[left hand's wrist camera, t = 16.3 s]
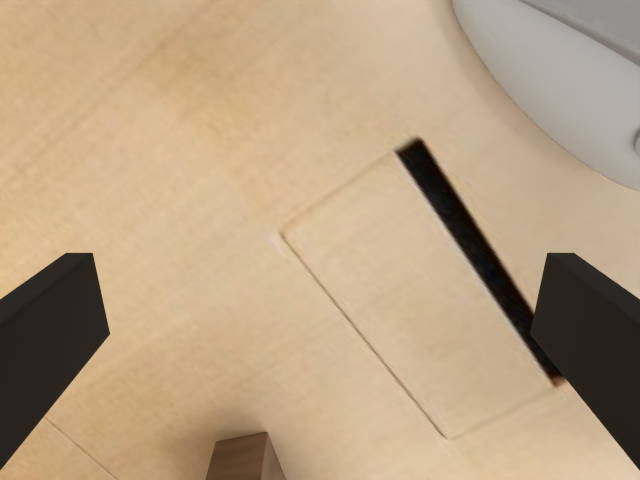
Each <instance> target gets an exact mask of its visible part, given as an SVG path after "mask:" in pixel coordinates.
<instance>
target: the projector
mask: <svg viewBox="0 0 640 480" xmlns="http://www.w3.org/2000/svg"><path fill="white" fill-rule="evenodd" d="M452 4H453V9H454V12H455V14H456V17H457V19H458V21H459V23H460V25H461V27H462V29H463V31H464V33H465V34H466V36H467V38H468V40H469V41H470V43H471V45H472V46H473V48H474V49H475V51H476V53H477V54H478V56H479V57H480V59H481V60H482V62H483V63H484V64H485V66H486V67H487V69H488V70H489V72H490V73H491V74H492V76H493V77H494V78H495V80H496V81H497V82H498V84H499V85H500V86H501V87H502V89H503V90H504V91H505V92H506V93H507V95H508V96H509V97H510V98H511V99H512V100H513V102H514V103H515V104H516V105H517V106H518V107H519V108H520V109H521V110H522V111H523V112H524V113H525V114H526V115H527V116H528V117H529V118H530V119H531V120H532V121H533V122H534V123H535V124H536V125H537V126H538V127H539V128H540V129H542V130H543V131H544V132H545V133H546V134H547V135H548V136H549V137H551V138H552V139H553V140H554V141H555V142H557V143H558V144H559V145H560V146H561V147H563V148H564V149H565V150H567V151H568V152H569V153H571V154H572V155H573V156H575V157H576V158H577V159H579V160H580V161H582V162H583V163H584V164H586V165H587V166H589V167H590V168H592V169H593V170H595V171H597V172H598V173H600V174H601V175H603V176H605V177H607V178H608V179H610V180H612V181H614V182H616V183H618V184H620V185H623V186H625V187H627V188H630V189H633V190H636V191H640V0H452Z"/></svg>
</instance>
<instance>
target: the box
mask: <svg viewBox="0 0 640 480" xmlns="http://www.w3.org/2000/svg"><path fill="white" fill-rule="evenodd" d="M206 480H286V479H285V477H284V474H283V472H282V469H281V466H280V464H279V461H278V459H277V456H276V453H275V451H274V448H273V446H272V443H271V440H270V438H269V435H268V433H267V432H266V433H261V434H256V435H251V436H245V437H240V438H235V439H230V440H225V441H220V442H216V444H215V448H214V451H213V455H212V458H211V462H210V466H209V469H208V473H207V476H206Z"/></svg>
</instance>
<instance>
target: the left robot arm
mask: <svg viewBox="0 0 640 480" xmlns="http://www.w3.org/2000/svg"><path fill="white" fill-rule="evenodd" d="M109 335H110V332H109V327H108V323H107V318H106V313H105V309H104V304H103V299H102V295H101V290H100V285H99V281H98V276H97V271H96V267H95V262H94V257H93V253H65V254H64V255H62V256H61V257H60V258H58V259H57V260H55V261H54V262H53V263H51V264H50V265H48V266H47V267H45V268H44V269H43V270H41V271H40V272H38V273H37V274H36V275H34V276H33V277H31V278H30V279H29V280H27V281H26V282H24V283H23V284H21V285H20V286H19V287H17V288H16V289H14V290H13V291H12V292H10V293H9V294H7V295H6V296H5V297H3V298H2V299H0V470H1V469H2V468H3V466H4V465H5V464H6V463H7V461H8V460H9V459H10V458H11V456H12V455H13V454H14V453H15V451H16V450H17V449H18V448H19V446H20V445H21V444H22V443H23V441H24V440H25V439H26V438H27V437H28V435H29V434H30V433H31V432H32V430H33V429H34V428H35V427H36V425H37V424H38V423H39V422H40V420H41V419H42V418H43V417H44V415H45V414H46V413H47V412H48V410H49V409H50V408H51V407H52V405H53V404H54V403H55V402H56V400H57V399H58V398H59V397H60V395H61V394H62V393H63V392H64V391H65V389H66V388H67V387H68V386H69V384H70V383H71V382H72V381H73V379H74V378H75V377H76V376H77V374H78V373H79V372H80V371H81V369H82V368H83V367H84V366H85V364H86V363H87V362H88V361H89V359H90V358H91V357H92V356H93V354H94V353H95V352H96V351H97V350H98V348H99V347H100V346H101V345H102V343H103V342H104V341H105V340H106V338H107V337H108V336H109ZM530 335H531V336H532V337H533V338H534V340H535V341H536V342H537V343H538V345H539V346H540V347H541V348H542V350H543V351H544V352H545V353H546V354H547V356H548V357H549V358H550V359H551V361H552V362H553V363H554V364H555V366H556V367H557V368H558V369H559V371H560V372H561V373H562V374H563V376H564V377H565V378H566V379H567V381H568V382H569V383H570V384H571V386H572V387H573V388H574V389H575V391H576V392H577V393H578V394H579V395H580V397H581V398H582V399H583V400H584V402H585V403H586V404H587V405H588V407H589V408H590V409H591V410H592V412H593V413H594V414H595V415H596V417H597V418H598V419H599V420H600V422H601V423H602V424H603V425H604V427H605V428H606V429H607V430H608V432H609V433H610V434H611V435H612V437H613V438H614V439H615V440H616V441H617V443H618V444H619V445H620V446H621V448H622V449H623V450H624V451H625V453H626V454H627V455H628V456H629V458H630V459H631V460H632V461H633V463H634V464H635V465H636V466H637V468H638V469H639V470H640V299H638V298H637V297H635V296H634V295H633V294H631V293H630V292H628V291H627V290H626V289H624V288H623V287H621V286H620V285H619V284H617V283H616V282H614V281H613V280H611V279H610V278H609V277H607V276H606V275H604V274H603V273H602V272H600V271H599V270H597V269H596V268H595V267H593V266H592V265H590V264H589V263H587V262H586V261H585V260H583V259H582V258H580V257H579V256H578V255H576V254H575V253H547V257H546V262H545V267H544V271H543V276H542V281H541V285H540V290H539V295H538V299H537V304H536V309H535V313H534V318H533V323H532V327H531V332H530Z"/></svg>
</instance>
